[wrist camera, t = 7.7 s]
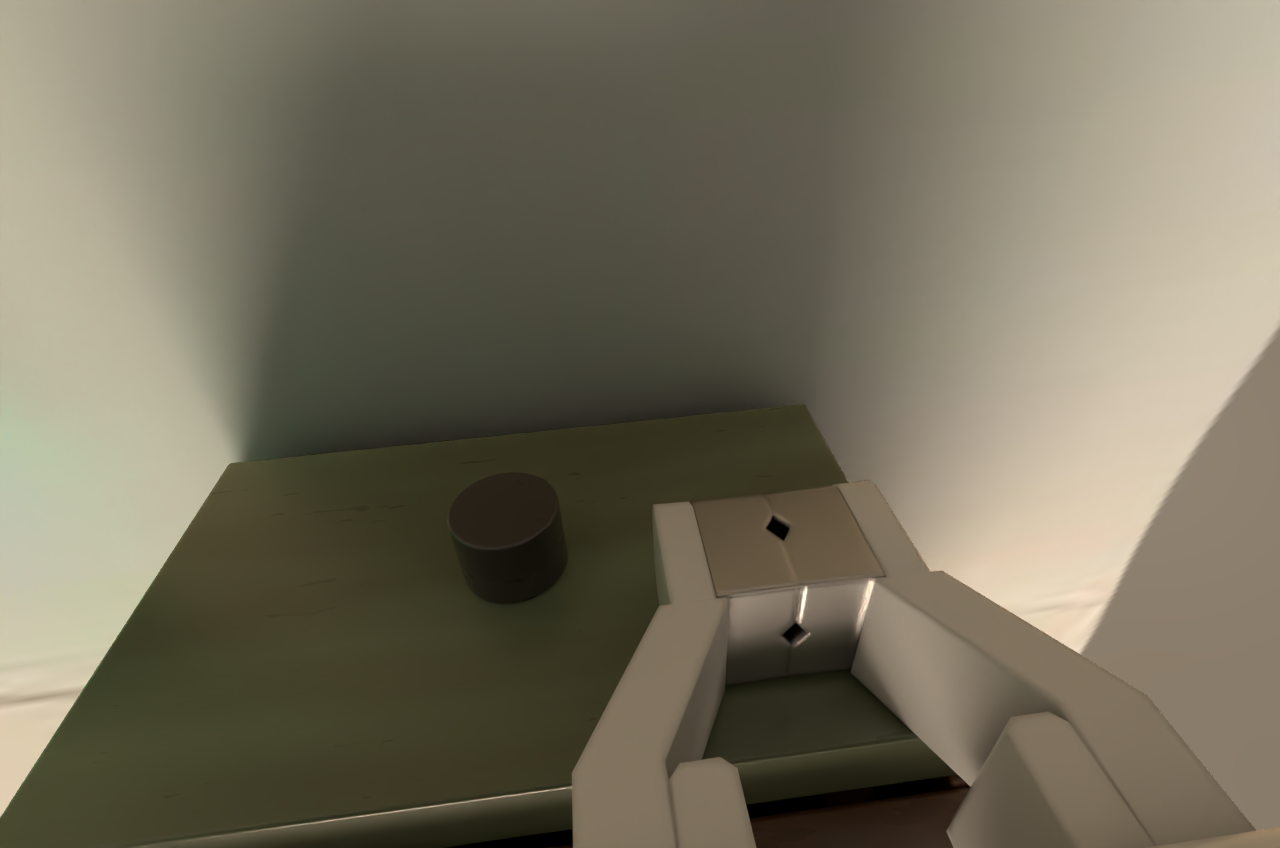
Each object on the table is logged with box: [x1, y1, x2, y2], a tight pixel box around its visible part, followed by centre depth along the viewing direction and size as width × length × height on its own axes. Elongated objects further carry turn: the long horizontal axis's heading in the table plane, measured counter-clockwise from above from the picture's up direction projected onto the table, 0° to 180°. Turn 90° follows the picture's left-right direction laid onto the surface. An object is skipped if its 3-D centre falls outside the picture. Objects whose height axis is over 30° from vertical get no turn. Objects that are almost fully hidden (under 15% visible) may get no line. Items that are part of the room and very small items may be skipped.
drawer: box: [0, 404, 958, 848], centre depth 13 cm, size 15×11×7 cm
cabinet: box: [545, 775, 970, 848], centre depth 15 cm, size 15×13×9 cm
